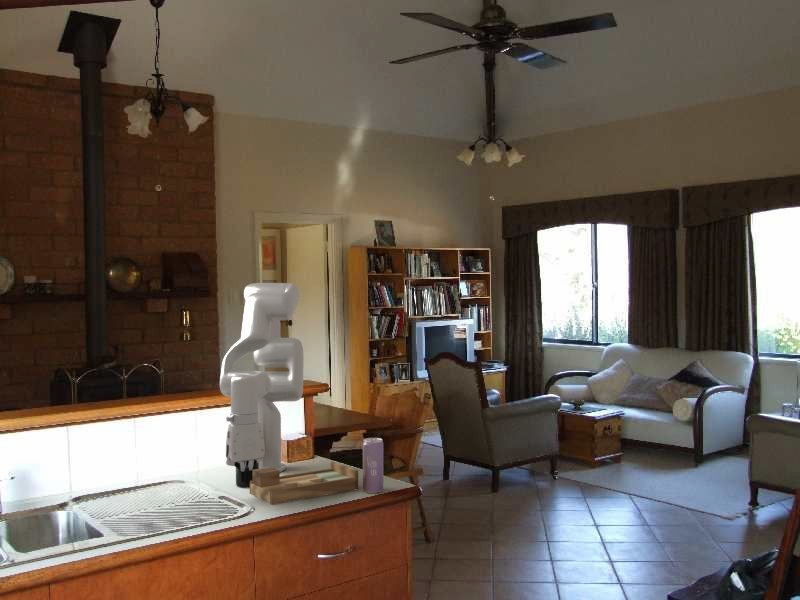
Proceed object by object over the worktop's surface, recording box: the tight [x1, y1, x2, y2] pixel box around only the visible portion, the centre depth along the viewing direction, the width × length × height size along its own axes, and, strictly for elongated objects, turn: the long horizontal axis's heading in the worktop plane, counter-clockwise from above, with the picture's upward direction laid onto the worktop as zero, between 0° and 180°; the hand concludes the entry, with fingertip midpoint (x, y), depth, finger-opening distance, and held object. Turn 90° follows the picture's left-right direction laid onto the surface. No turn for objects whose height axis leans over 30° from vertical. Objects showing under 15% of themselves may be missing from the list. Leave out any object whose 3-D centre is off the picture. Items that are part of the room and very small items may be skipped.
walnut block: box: [253, 467, 281, 487], centre depth 233 cm, size 5×6×4 cm
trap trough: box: [249, 461, 359, 505], centre depth 236 cm, size 14×28×6 cm, turn 125°
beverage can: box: [362, 437, 384, 494], centre depth 237 cm, size 6×6×15 cm
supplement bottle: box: [235, 461, 259, 488], centre depth 243 cm, size 7×7×12 cm
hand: (244, 484), depth 229 cm, fingers closed
